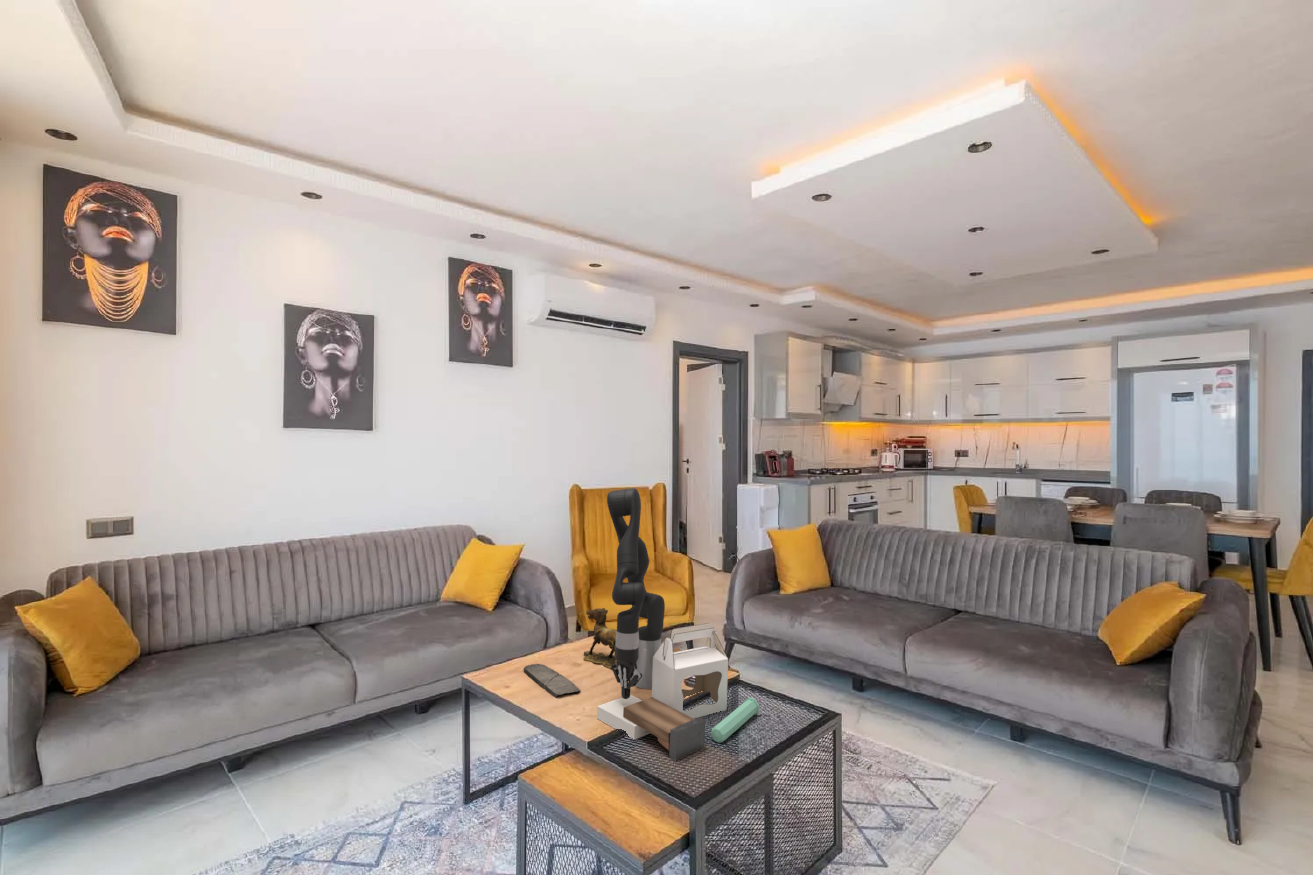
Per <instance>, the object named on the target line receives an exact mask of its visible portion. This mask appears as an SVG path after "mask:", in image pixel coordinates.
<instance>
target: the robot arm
mask: <svg viewBox="0 0 1313 875" xmlns="http://www.w3.org/2000/svg"><path fill="white" fill-rule="evenodd" d="M606 505H607V508H608V513H609V515H610V519H611V522H612V523H613V527H614V530H615V533H616V536H617V540H618V546H617V549H616V576H615V581H614V583H613V584H614V585H613V588H612V592H611V597H612V602H613V603H614V604H615V605H617V606H631V607H630V608H629V609H626V610H622V611H620V612H618V614H617V618H616V630H617V633H616V648H615V652H614V654H615V659H616V660H617V661H616V664H613V665H611V668H612V672H613V675H614V677H615V680H616V682H617V683H618V684H620V687H621V689H620V690H621V692H620V694H621V698H624V699H628V698H629V697H630V695H631V688H633V687H637V688H638V689H639V688H640V689H644V690H652V673H653V656H654V655H655V653H656V652H657V650H658V649H659V648H660V646H661V645H662V632H663V629H664V624H665V623H664V622H665V608H666V606H665V605H666V604H665V599H664V597H663V596H662V595H660V594H658V593H657V594H656V593H652V592H648V591H647V589H646V587H645V580H644V579H645V575H646V574H647V571H648V568H649V564H650V557H649V553H648V548H647V545H646V543H645V542H644V540H643V539H642V538H641V537H640V527H641V526H640V525H641V513H642V512H641V511H642V499H641V495H640V492H639V491H638V490H637V488H635V487H634V488H633V487H632V488H631V487H630V488H623V489H618V490H617V489H616V490H611V491H609V492H608V493H607V496H606ZM629 516H630V518H629V523H628V524H627V522H626V520H625V518H624V517H629ZM625 579H627V582H624V580H625ZM640 618H642V619H646V620H647V622H646V625H643V626H639V624H640V623H639V622H640Z"/></svg>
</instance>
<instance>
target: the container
mask: <svg viewBox="0 0 1313 875" xmlns="http://www.w3.org/2000/svg"><path fill="white" fill-rule="evenodd" d="M759 712H760V704H759V703H758V701H757V700H756V698H753V697H749V696H748V697H747V698H745V699H744V700H743V701H742V704H740V705H739V706H738V707H737V708H735V709H734V710H733V711H731V713H730V714H728V715H727V716H725V718H723V719H722V720H721V721H720V722H718V723H717V724H716V725H715V726H713V727H712V729H711V738H712V740H713V741H714V742H717V743H718V744H720V743H724V741H726V740H727V739H728V738H729V737H731V736H732V734H734V733H735V732H736V731H737V730H739V728H740V727H742V726H743V725H744V724H745V723H746V722H748V720H749V719H750V718H752V717H753V716H756V715H757V714H758V713H759Z"/></svg>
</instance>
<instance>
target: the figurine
mask: <svg viewBox="0 0 1313 875" xmlns="http://www.w3.org/2000/svg"><path fill="white" fill-rule="evenodd" d="M585 612H586V613H585V614H586V615H587V618H588V619H589V620H592V619H593V620H594V621H595V623H594V626H593V633H594V636H593V638H592V639H593V642H592V645H591V647H590V650H584V652H583V656H584V657H583V661H584V662H589V663H592V664H594V665H598V666H599V665H601V666H603V667H605V668H607V669H609V670H612V668H611V665H613V664H616V661H617V660H616V659H615V648H616V633H617V629H615V628H614V629H613V628H609V627H607V625H606V621H607V614H608V613H609V610H608V609H606V607H602V608H594V609H592V610H591V609H587V610H586V611H585ZM597 644H598V645H600V644H602V645H603V646H604V647H605V646H606V647H608V648H610V649H611V650H610V652H609V654H607V655H605V653H603V652H598V653H597V652H596V651H594V647H596V645H597ZM612 671H613V670H612Z"/></svg>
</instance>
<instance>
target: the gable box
mask: <svg viewBox="0 0 1313 875" xmlns="http://www.w3.org/2000/svg"><path fill="white" fill-rule="evenodd" d="M714 629H715V627H713V626H712V624H711V623H710V622H707V623H705V622H704V623H701V624H694V625H688V626H683V627H682V626H681V627H676V628H672V629H671V631H670V634H669V635H670V636H669V637H666V638H665V639H664V640H663V641H662V642H661V646H660V648H659V649H658V650H657V652H656V653H655V655H654V656H653V673H652V689H651V697H653V698H655V699H657V700H659V701H661V702H662V703H664V704H666V705H668V706H670V707H672V708H674V709H676V710H678V711H680V712H682V713H683V714H685V715H687V716H689V717H691V718H693V719H696V718H698V717H700V718H702V717H706V716H710V715H713V713H714V714H716V712H717V713H720V711H721V712H725V711H727V709H728V708H727V707H728V705H727V702H728V680H729V679H728V678H729V676H728V674H729V657H728V656H727V653H726V652H725V649H724V648H723V646H722V643H721V641H720V639H719V637H718V631H717V630H714ZM703 638H706V642H705V646H702V647H701V646H699V647H695V648H691V649H686V650H685V649H684V650H678V651H674V644H677V643H681V642H686V641H692V640H697V639H699V640H700V639H703ZM691 676H692V677H693V676H695V678H694V680H695V681H694V682H695V683H694V684H695V686H694V687H693V688H692V689H686V688H684V689H683V688H682V683H683V681H684V680H685V679H686V678H688V677H691ZM701 691H707V692H710V694H711V697H712V699H713V700H714V701H715V702H716V703H714V704H700V705H697V706H695V707H693V708H692V709H690V710H688V711H684V710H683V701H684V698H685V697H686V696H690V695H693V694H695V693H698V692H701ZM709 714H710V715H709Z"/></svg>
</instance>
